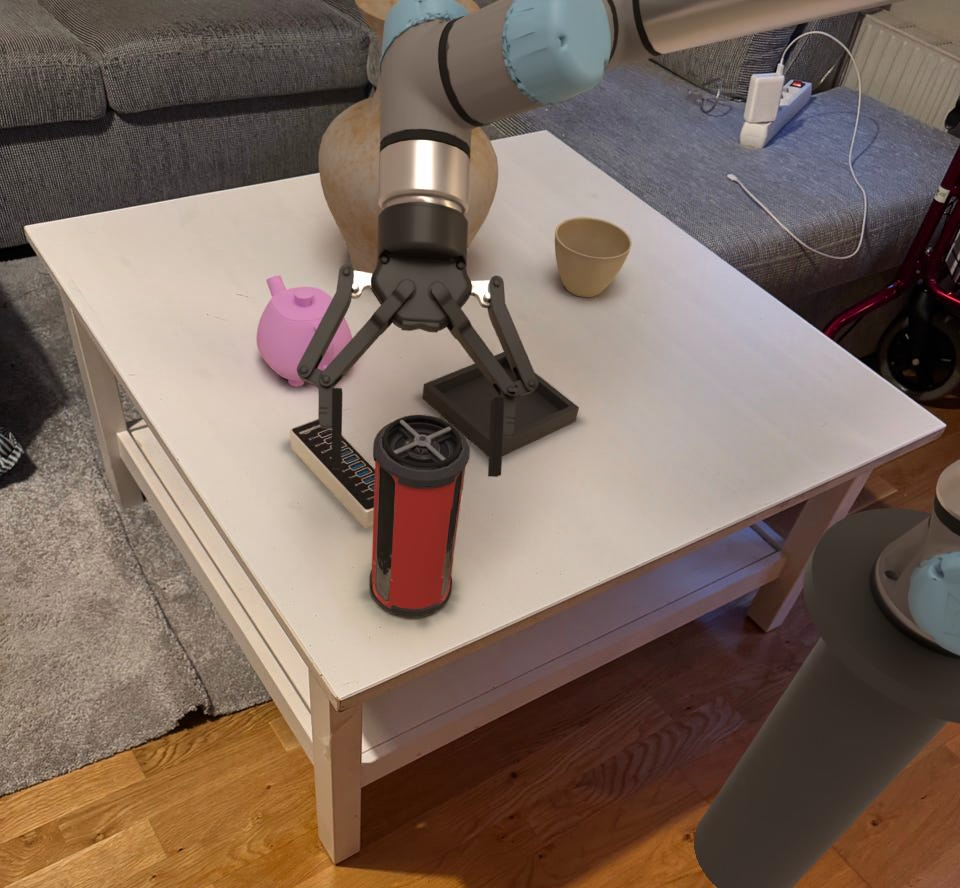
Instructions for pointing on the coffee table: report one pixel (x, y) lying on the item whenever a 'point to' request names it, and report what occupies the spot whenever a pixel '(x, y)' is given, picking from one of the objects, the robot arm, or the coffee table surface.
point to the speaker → (416, 513)
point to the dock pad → (470, 405)
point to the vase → (356, 162)
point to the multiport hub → (345, 484)
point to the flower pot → (589, 254)
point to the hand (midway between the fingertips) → (416, 472)
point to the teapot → (295, 328)
